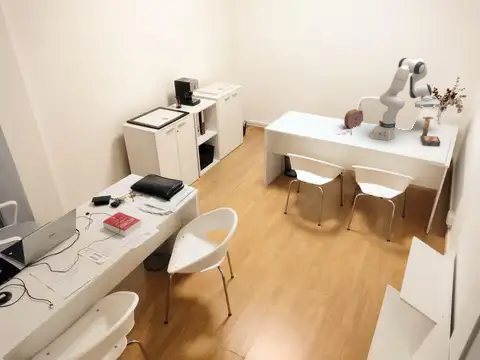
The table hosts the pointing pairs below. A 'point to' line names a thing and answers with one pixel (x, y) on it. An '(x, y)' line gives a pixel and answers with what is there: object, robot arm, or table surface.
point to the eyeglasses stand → (426, 126)
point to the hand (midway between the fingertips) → (427, 107)
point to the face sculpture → (353, 118)
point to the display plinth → (430, 141)
